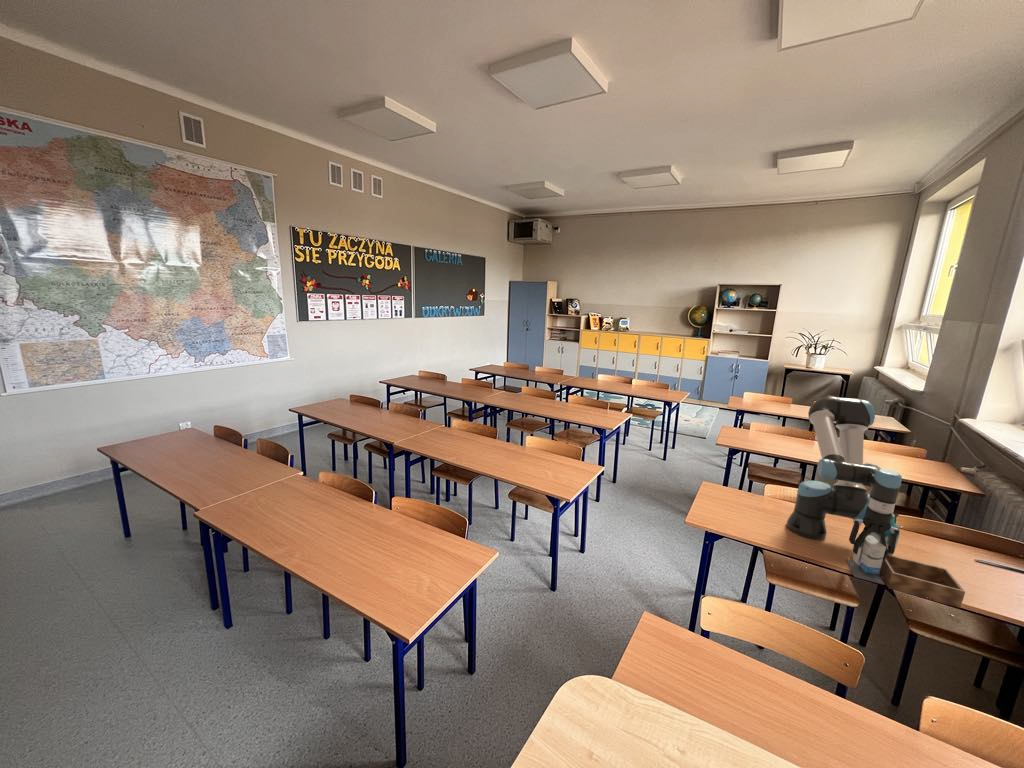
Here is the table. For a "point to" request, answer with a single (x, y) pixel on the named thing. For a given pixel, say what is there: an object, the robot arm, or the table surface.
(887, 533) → the vase
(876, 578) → the zone pad
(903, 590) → the crate
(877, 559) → the ink box
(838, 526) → the table surface
